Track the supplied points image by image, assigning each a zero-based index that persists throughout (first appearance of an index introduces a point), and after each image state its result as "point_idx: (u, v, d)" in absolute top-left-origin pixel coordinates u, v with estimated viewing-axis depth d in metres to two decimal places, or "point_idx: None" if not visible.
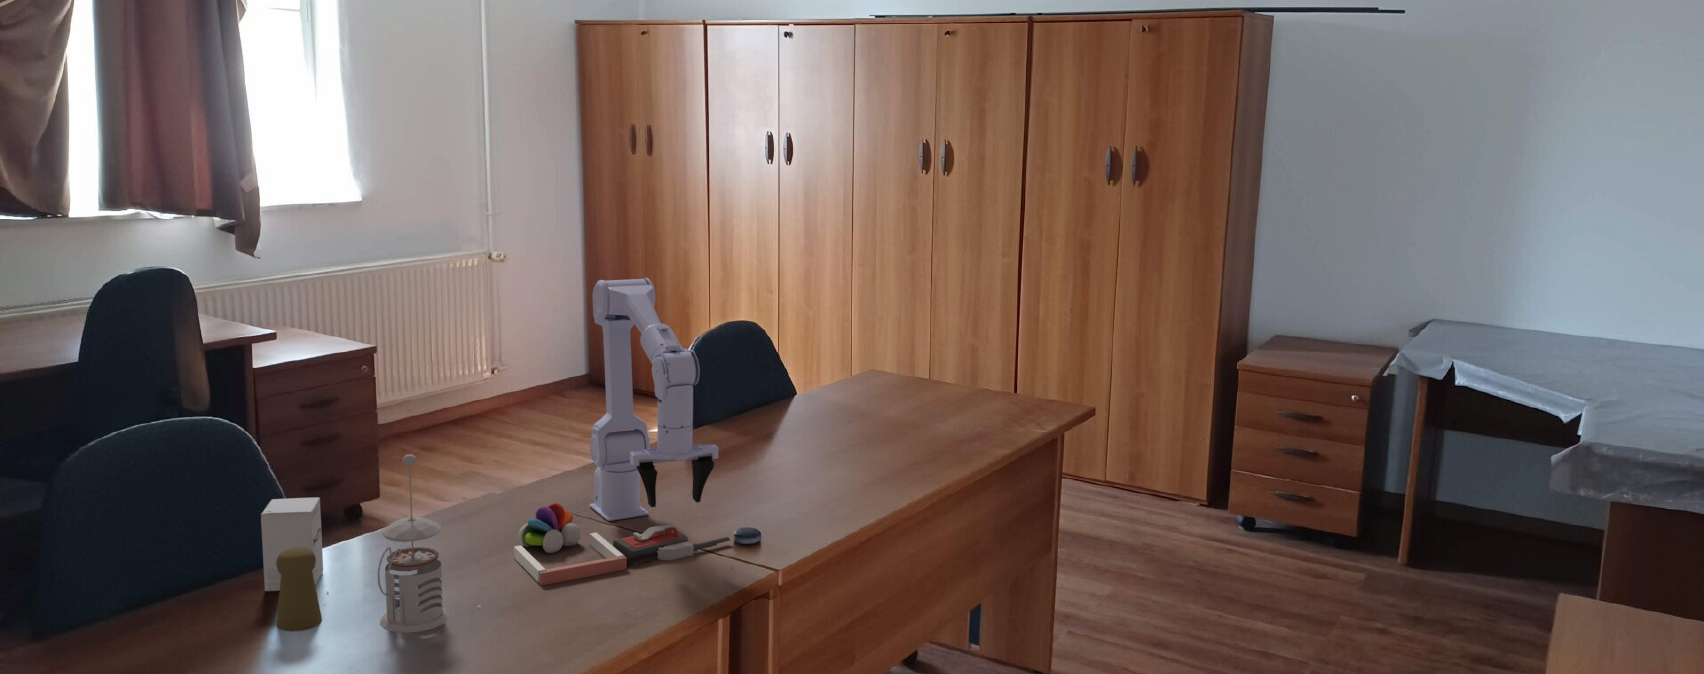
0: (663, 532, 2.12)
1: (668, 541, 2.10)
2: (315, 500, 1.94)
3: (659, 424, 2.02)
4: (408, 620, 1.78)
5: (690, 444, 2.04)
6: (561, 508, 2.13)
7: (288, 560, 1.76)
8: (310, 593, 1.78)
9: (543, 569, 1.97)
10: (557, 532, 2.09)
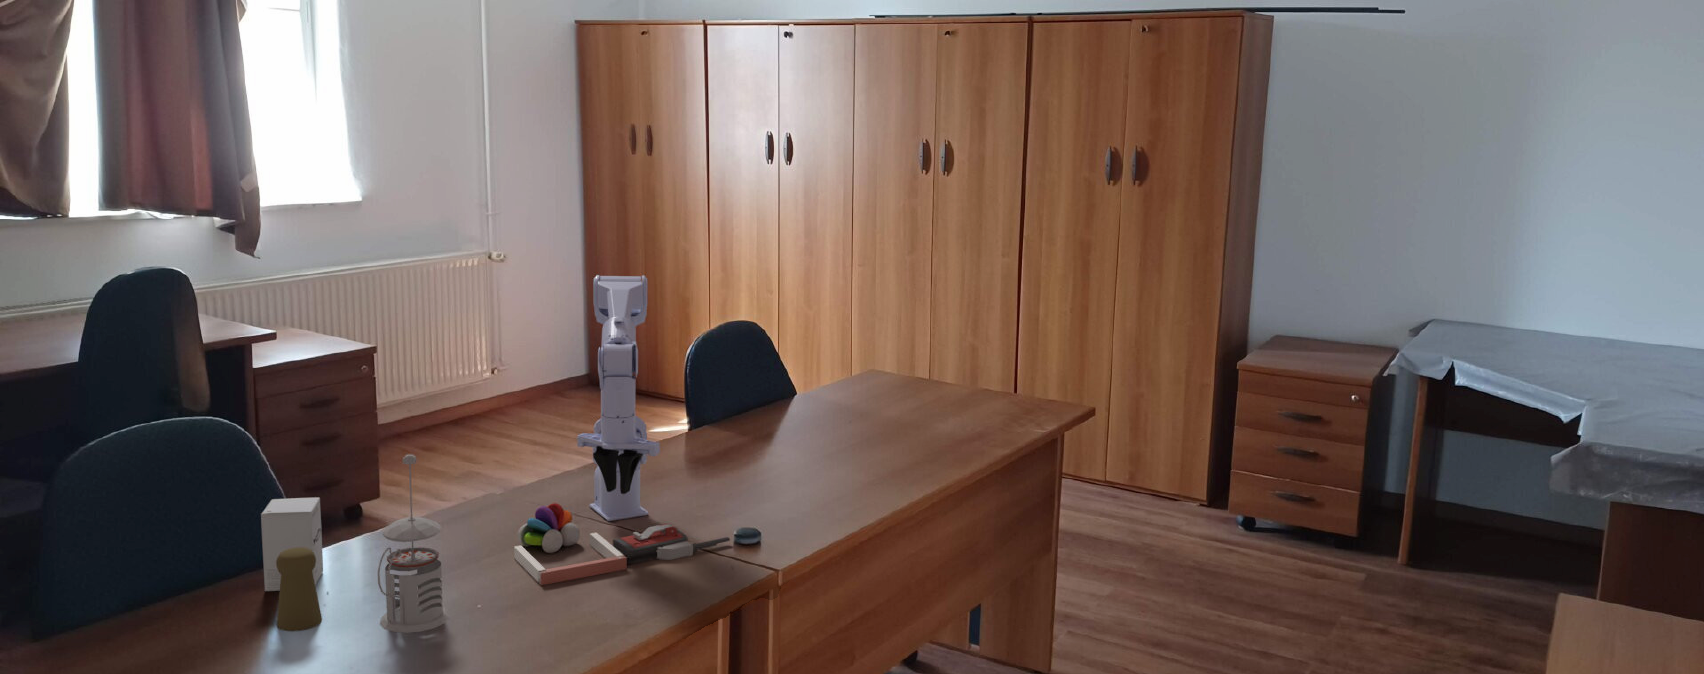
0: (663, 532, 2.13)
1: (667, 541, 2.10)
2: (315, 500, 1.94)
3: (601, 412, 2.08)
4: (408, 620, 1.78)
5: (623, 436, 2.07)
6: (560, 508, 2.13)
7: (288, 560, 1.76)
8: (311, 593, 1.78)
9: (543, 569, 1.97)
10: (556, 532, 2.09)
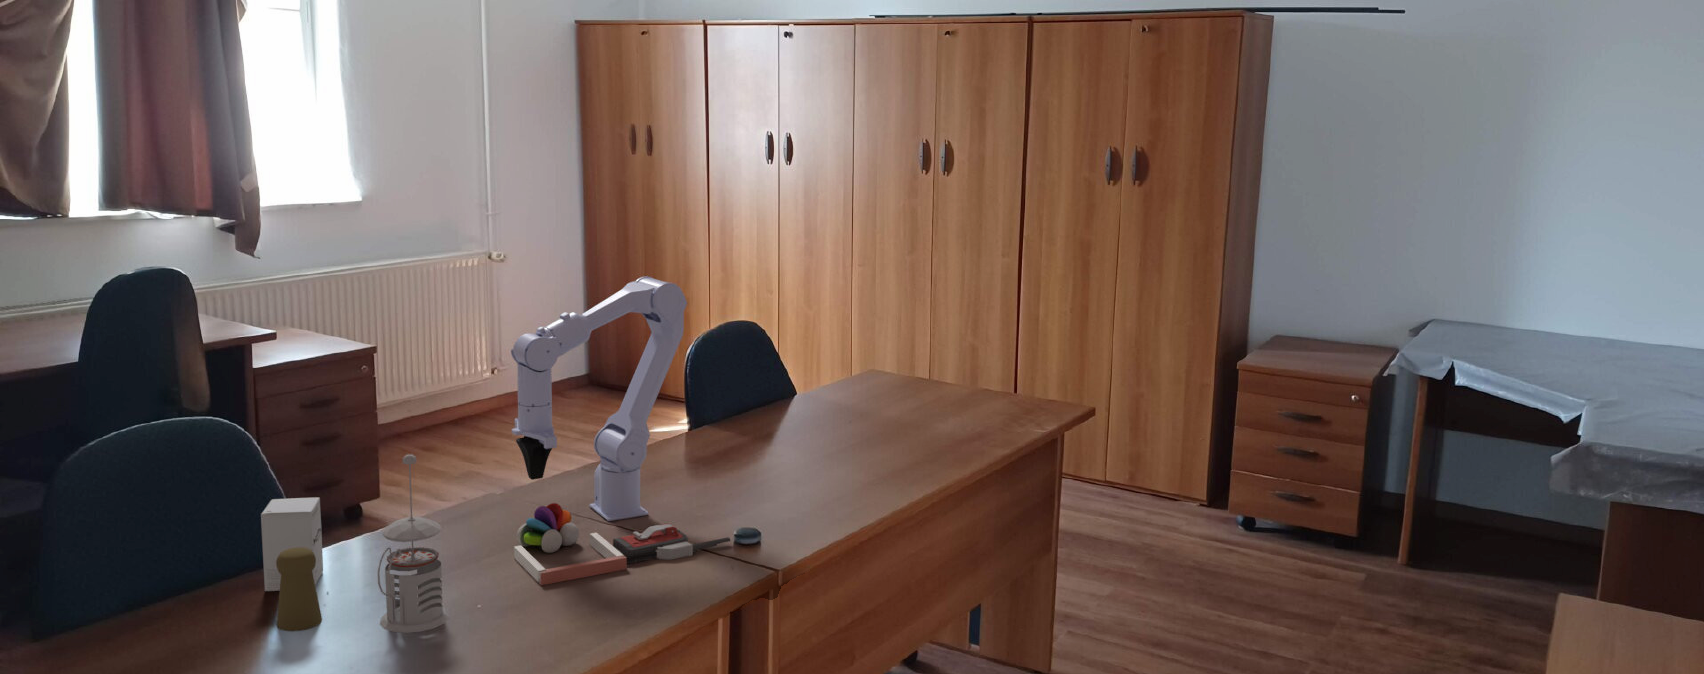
0: (663, 531, 2.13)
1: (667, 541, 2.10)
2: (315, 500, 1.94)
3: None
4: (408, 620, 1.78)
5: (528, 424, 2.14)
6: (559, 508, 2.13)
7: (288, 560, 1.76)
8: (310, 593, 1.78)
9: (543, 569, 1.97)
10: (556, 532, 2.09)
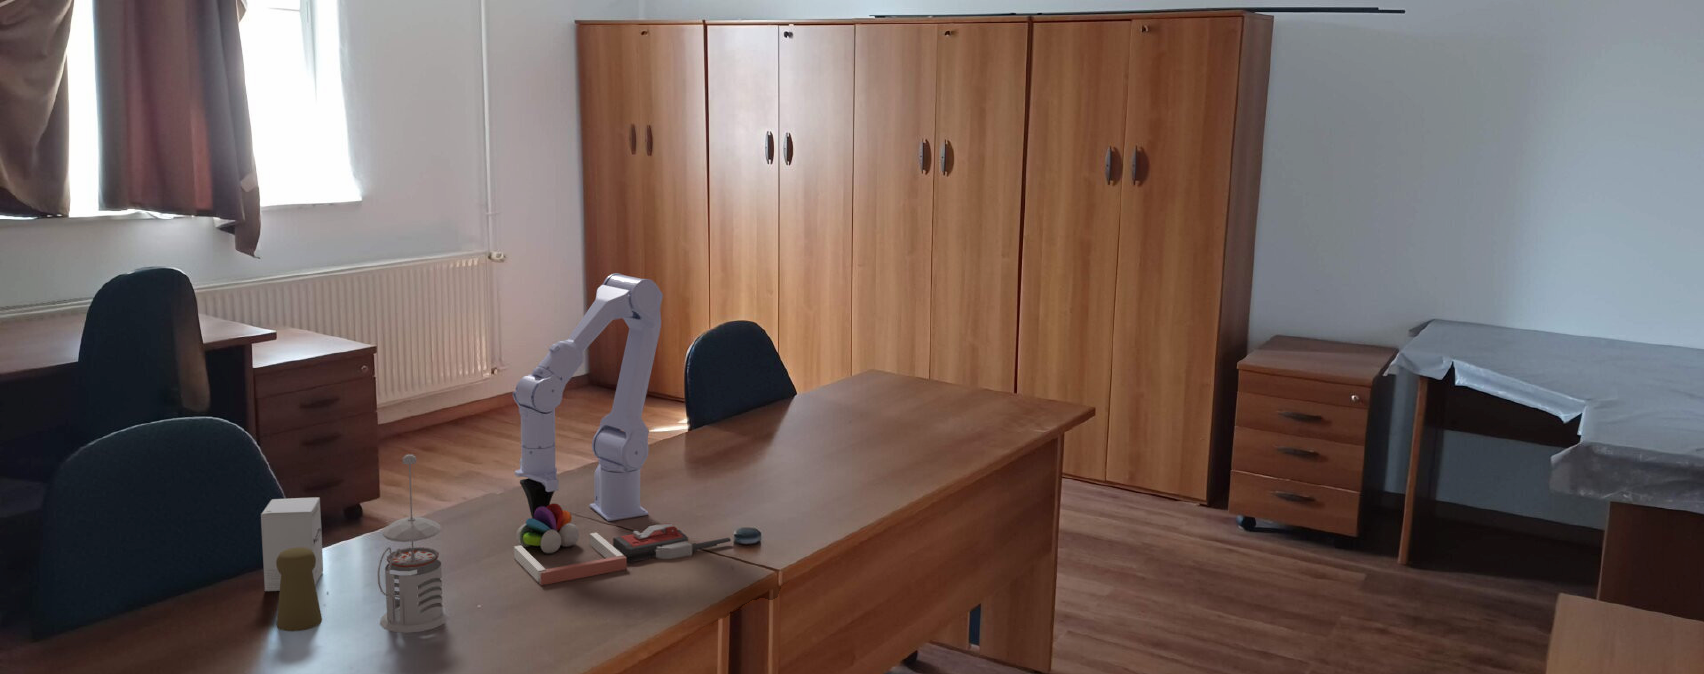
0: (663, 531, 2.13)
1: (667, 540, 2.10)
2: (315, 500, 1.94)
3: None
4: (408, 620, 1.78)
5: (531, 466, 2.12)
6: (559, 508, 2.12)
7: (288, 560, 1.76)
8: (310, 593, 1.78)
9: (543, 569, 1.97)
10: (555, 532, 2.09)
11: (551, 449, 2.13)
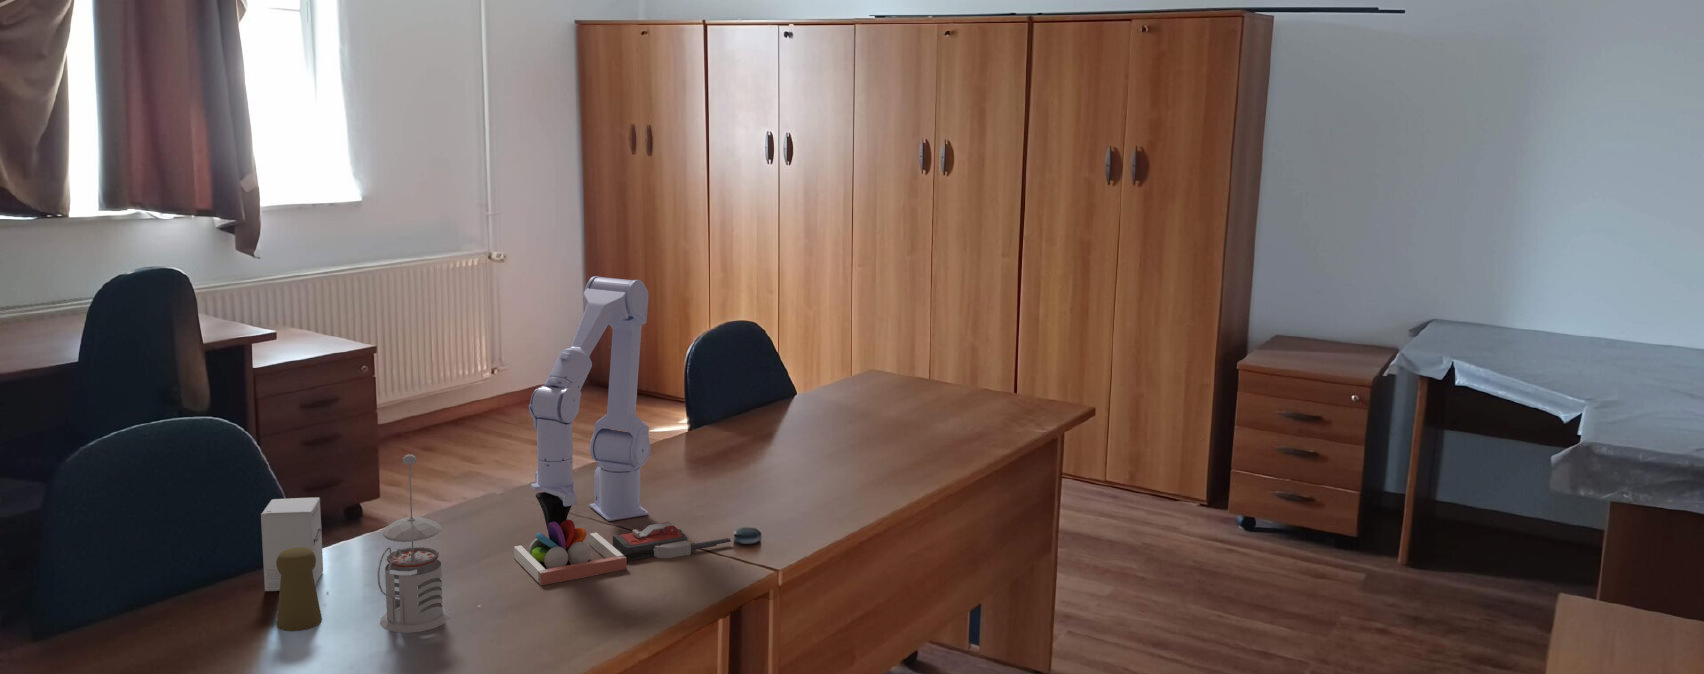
0: (663, 530, 2.13)
1: (665, 540, 2.11)
2: (315, 500, 1.94)
3: None
4: (408, 620, 1.78)
5: (548, 479, 2.05)
6: (572, 525, 2.04)
7: (288, 560, 1.76)
8: (311, 593, 1.78)
9: (543, 569, 1.97)
10: (560, 550, 2.01)
11: (568, 462, 2.06)
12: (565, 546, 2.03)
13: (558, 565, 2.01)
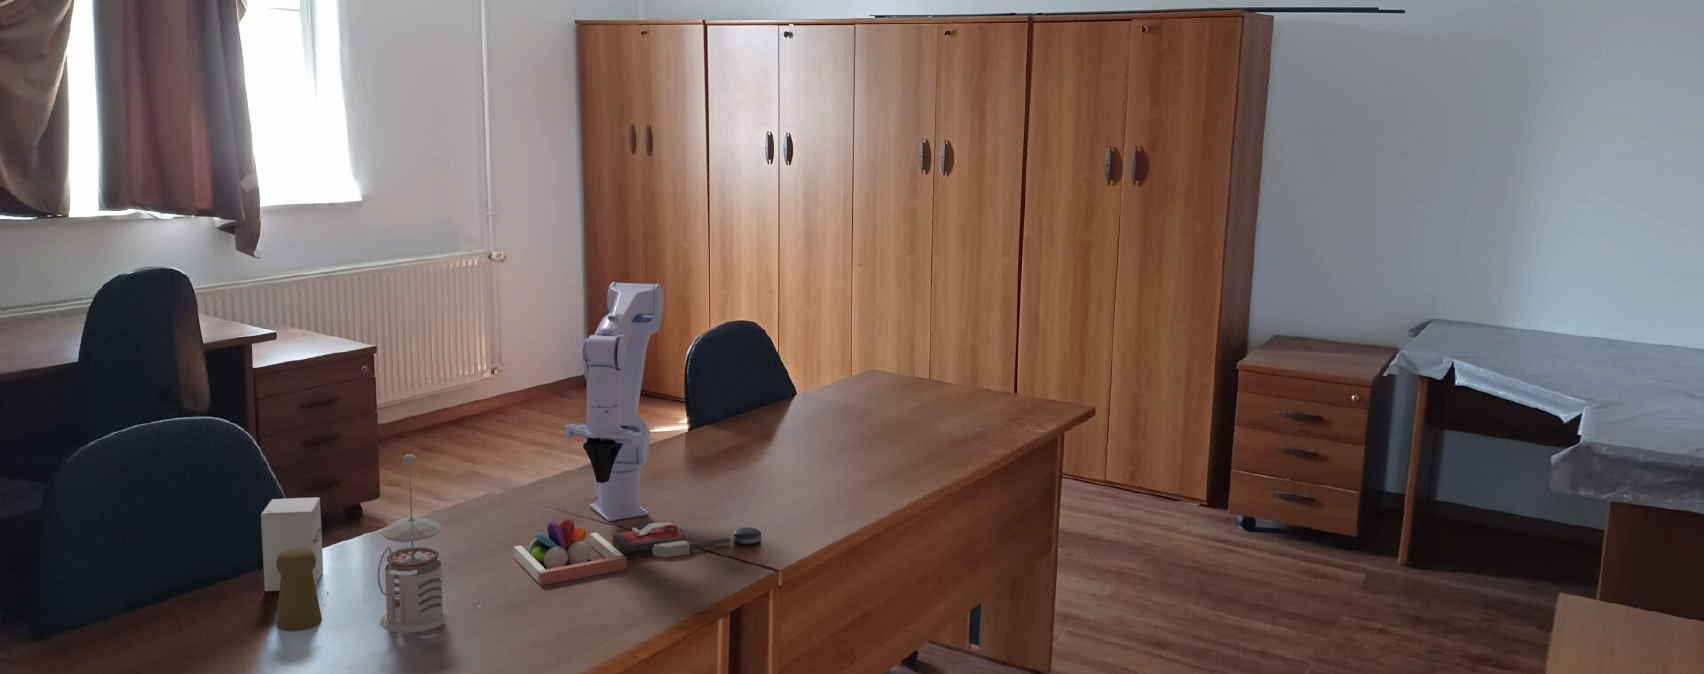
0: (663, 529, 2.14)
1: (665, 539, 2.11)
2: (315, 500, 1.94)
3: None
4: (408, 620, 1.78)
5: (607, 425, 2.12)
6: (571, 525, 2.05)
7: (288, 560, 1.76)
8: (311, 593, 1.78)
9: (543, 569, 1.97)
10: (560, 550, 2.02)
11: None
12: (565, 546, 2.03)
13: (558, 565, 2.01)
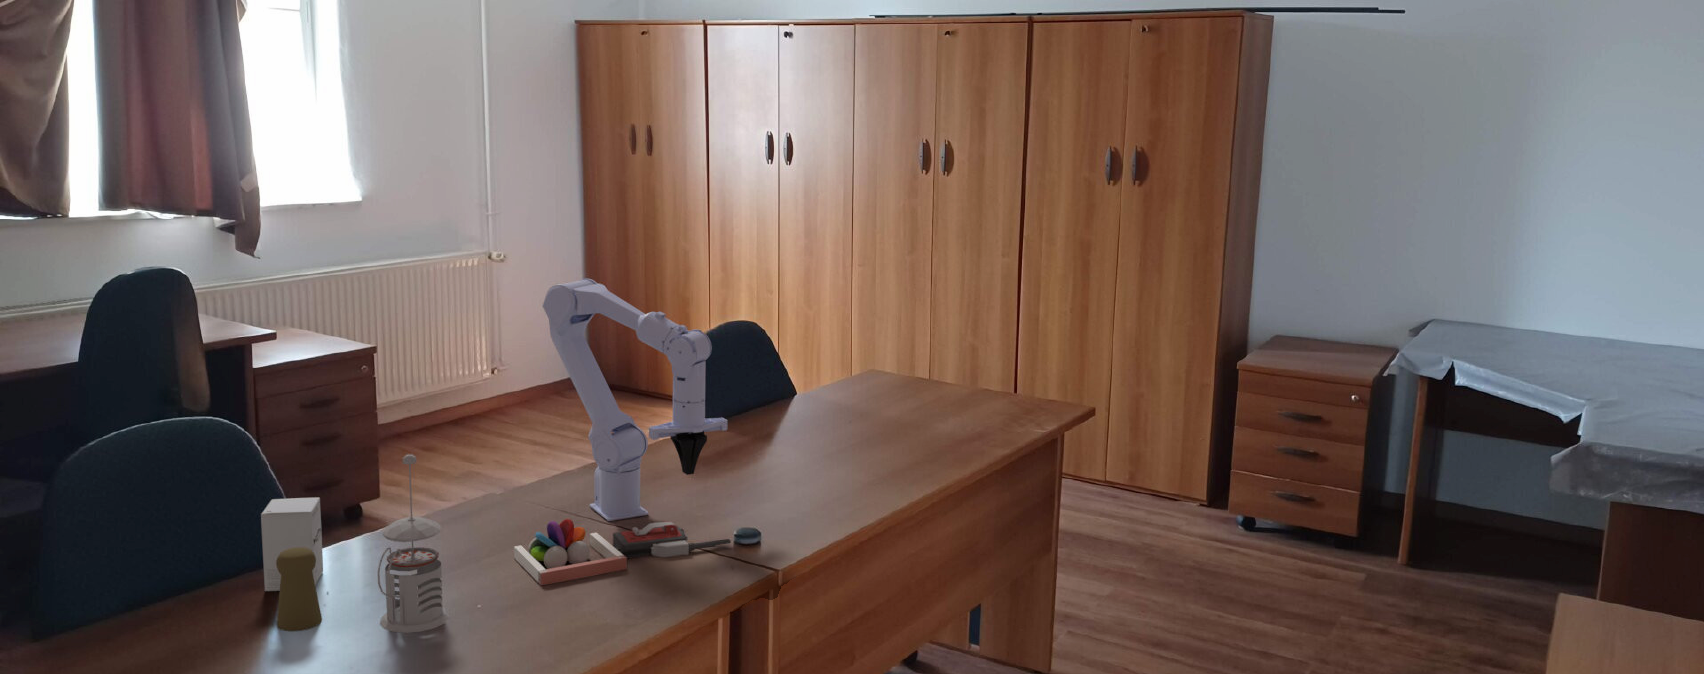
0: (663, 529, 2.14)
1: (664, 538, 2.11)
2: (315, 500, 1.94)
3: (681, 401, 2.18)
4: (408, 620, 1.78)
5: (704, 417, 2.20)
6: (571, 525, 2.05)
7: (288, 560, 1.76)
8: (310, 593, 1.78)
9: (543, 569, 1.97)
10: (559, 549, 2.02)
11: None
12: (564, 545, 2.04)
13: (557, 564, 2.01)
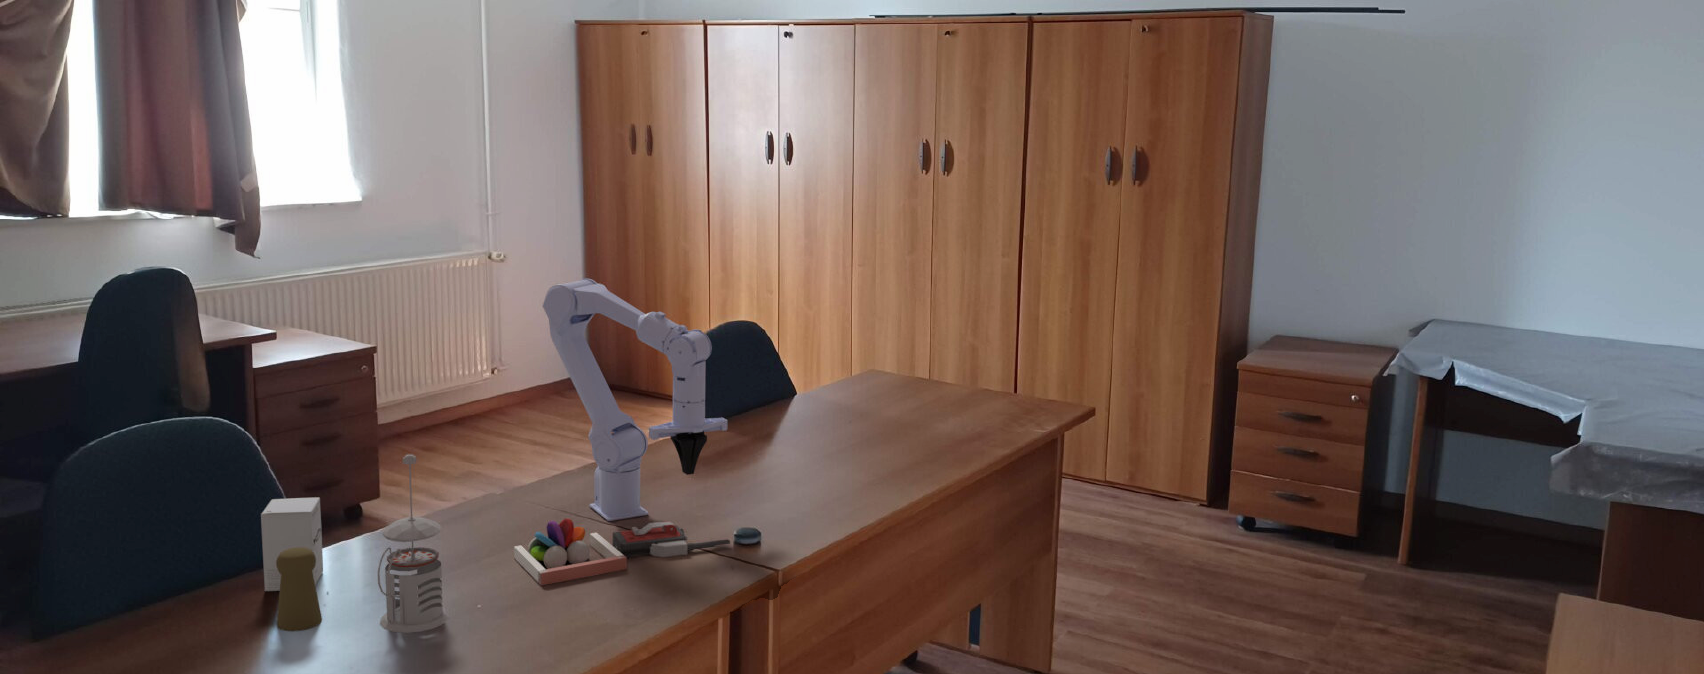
0: (663, 529, 2.14)
1: (663, 538, 2.11)
2: (315, 500, 1.94)
3: (681, 401, 2.18)
4: (408, 620, 1.78)
5: (704, 417, 2.20)
6: (570, 524, 2.05)
7: (288, 560, 1.76)
8: (311, 593, 1.78)
9: (543, 569, 1.97)
10: (559, 549, 2.02)
11: None
12: (564, 545, 2.04)
13: (557, 564, 2.01)
